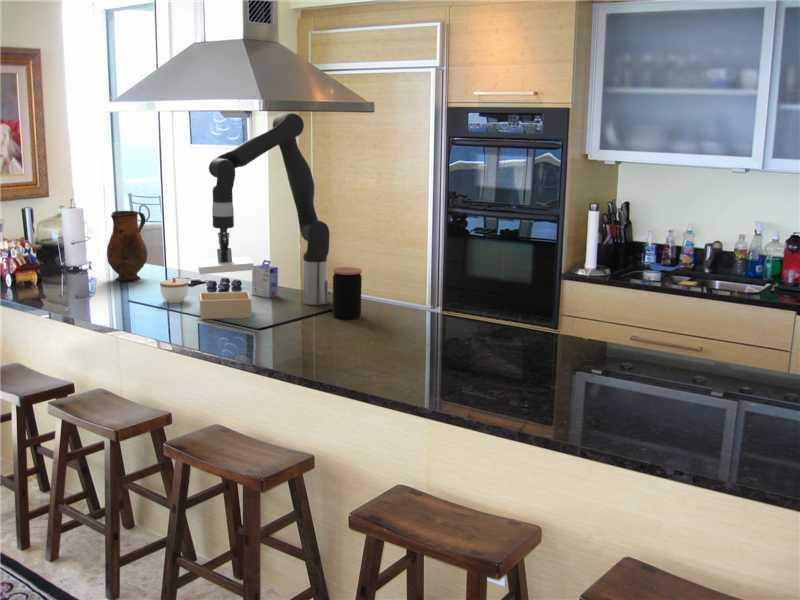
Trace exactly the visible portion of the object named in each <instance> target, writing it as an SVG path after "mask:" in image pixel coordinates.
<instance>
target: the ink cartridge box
mask: <svg viewBox="0 0 800 600" xmlns="http://www.w3.org/2000/svg"><path fill="white" fill-rule="evenodd" d="M271 263H272V262H271V260H266V259H264V260H263V261H262V264H257V265H254V270H251V273H252V274H251V276H252V278H251V284H252V285H251V295H253V296H259V297H261V298H262V297H263V298H269V299H270V298H274V297H275V298H276V297H278V293H279V292H278V291H279V289H278V285H279V282H278V281H279V280H278V279H279V276H278V275H279V268H278V266H277V267H276V266H270V264H271Z"/></svg>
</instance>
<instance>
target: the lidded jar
mask: <svg viewBox="0 0 800 600" xmlns="http://www.w3.org/2000/svg"><path fill="white" fill-rule="evenodd" d="M159 286H160V293H161V295H162V297H163V299H164V300H165V301H166V302H167V303H169V304H176V303H182V302H184V300H185V299H186V297H187V296H188V292H189V281H188V280H185V279H181V278H180V279H178V278H177V279H176V277H172V279H165V280H162V281H160V282H159Z"/></svg>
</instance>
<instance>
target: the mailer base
mask: <svg viewBox="0 0 800 600" xmlns="http://www.w3.org/2000/svg"><path fill="white" fill-rule="evenodd" d="M199 313H200V320H221V319H223V320H225V319H227V318H230V319H239V318H238V317H251V318H252V298H251V296H250V294H249V291H226V292H225V291H223V292H222V291H221V292H199Z"/></svg>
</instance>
